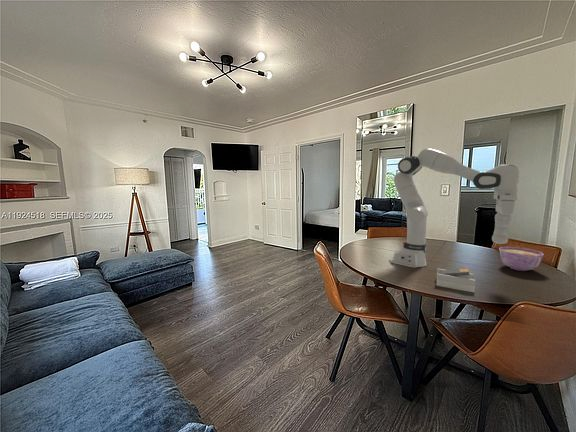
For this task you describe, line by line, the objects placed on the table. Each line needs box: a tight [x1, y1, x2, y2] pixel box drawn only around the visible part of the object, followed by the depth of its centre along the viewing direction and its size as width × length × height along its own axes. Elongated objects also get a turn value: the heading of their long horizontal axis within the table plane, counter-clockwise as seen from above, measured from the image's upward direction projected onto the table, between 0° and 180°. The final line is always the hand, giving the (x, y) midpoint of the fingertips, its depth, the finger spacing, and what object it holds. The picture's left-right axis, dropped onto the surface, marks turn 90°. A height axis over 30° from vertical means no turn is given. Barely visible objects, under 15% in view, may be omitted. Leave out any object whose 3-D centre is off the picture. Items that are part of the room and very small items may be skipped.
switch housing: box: [435, 268, 476, 293], centre depth 126 cm, size 16×12×6 cm
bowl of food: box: [498, 246, 544, 272], centre depth 148 cm, size 20×20×12 cm
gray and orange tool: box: [441, 268, 470, 276], centre depth 126 cm, size 12×6×2 cm, turn 57°
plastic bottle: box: [491, 212, 512, 245], centre depth 126 cm, size 6×7×20 cm
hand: (501, 221), depth 126 cm, fingers closed on plastic bottle, 6 cm apart
